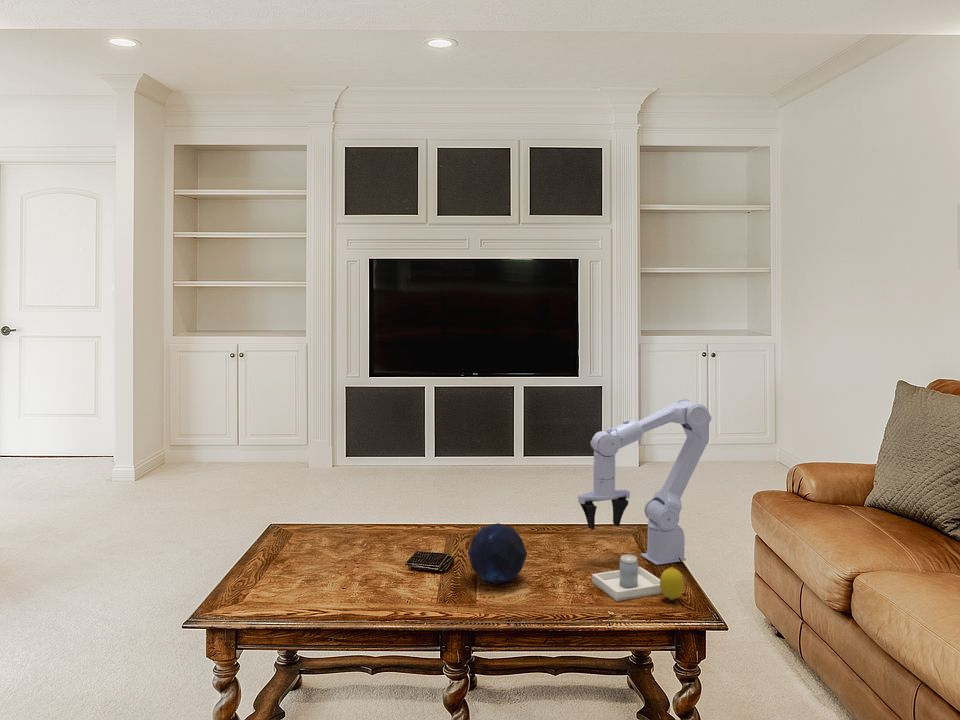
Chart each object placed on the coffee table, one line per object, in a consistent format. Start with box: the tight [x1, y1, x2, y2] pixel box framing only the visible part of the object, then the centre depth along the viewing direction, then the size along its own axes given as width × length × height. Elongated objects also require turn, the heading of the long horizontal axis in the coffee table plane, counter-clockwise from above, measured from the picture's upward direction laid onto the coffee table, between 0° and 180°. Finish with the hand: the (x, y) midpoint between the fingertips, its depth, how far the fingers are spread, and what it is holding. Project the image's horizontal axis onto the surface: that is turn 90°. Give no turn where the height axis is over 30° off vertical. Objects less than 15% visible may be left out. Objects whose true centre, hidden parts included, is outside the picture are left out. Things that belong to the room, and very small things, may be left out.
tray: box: [591, 566, 664, 602], centre depth 183 cm, size 14×12×2 cm
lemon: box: [659, 566, 685, 601], centre depth 175 cm, size 6×6×8 cm
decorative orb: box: [467, 522, 528, 585], centre depth 188 cm, size 14×15×15 cm
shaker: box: [619, 554, 639, 589], centre depth 183 cm, size 4×4×7 cm
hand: (603, 526), depth 199 cm, fingers open, 7 cm apart
